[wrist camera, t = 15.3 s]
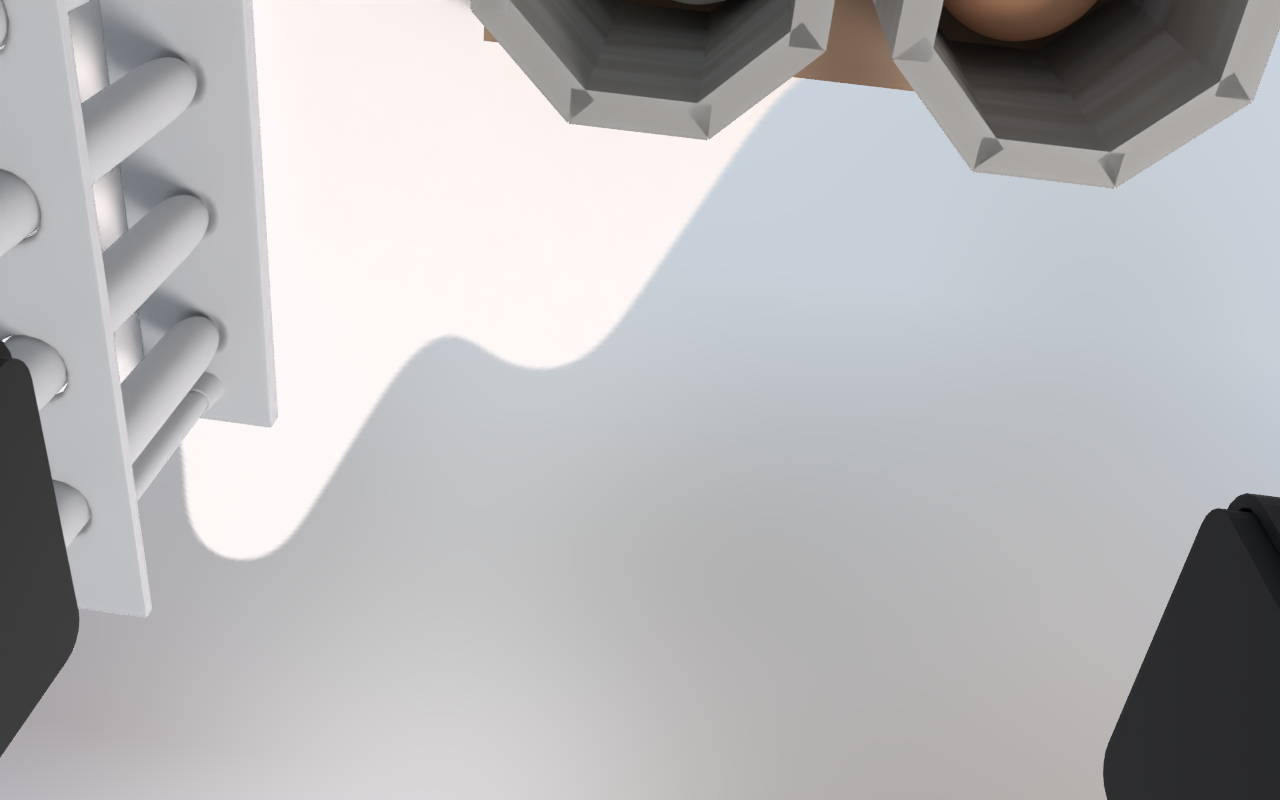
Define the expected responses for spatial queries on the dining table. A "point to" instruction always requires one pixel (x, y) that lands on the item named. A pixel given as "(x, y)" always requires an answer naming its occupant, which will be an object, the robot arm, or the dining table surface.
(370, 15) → the dining table surface
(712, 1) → the ball cream
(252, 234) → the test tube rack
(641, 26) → the stand
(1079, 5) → the ball terracotta
